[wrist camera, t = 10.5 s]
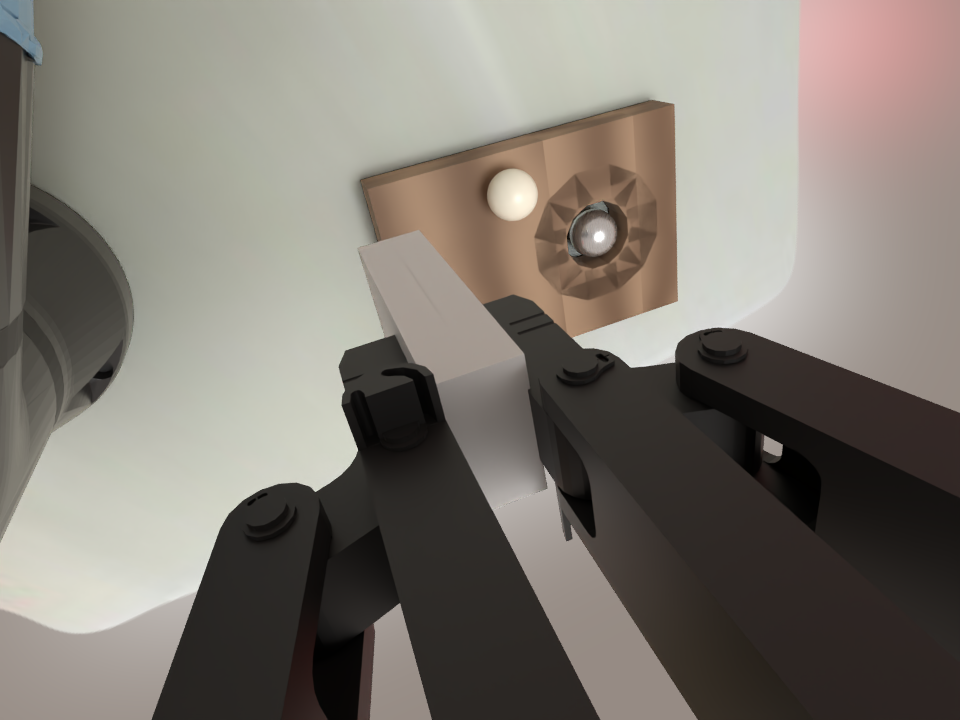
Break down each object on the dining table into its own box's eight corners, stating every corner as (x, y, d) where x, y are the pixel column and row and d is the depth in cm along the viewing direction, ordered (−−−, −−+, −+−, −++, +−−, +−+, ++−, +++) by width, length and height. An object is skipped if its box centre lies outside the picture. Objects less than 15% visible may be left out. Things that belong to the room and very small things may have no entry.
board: (415, 371, 44) (423, 388, 42) (360, 179, 37) (367, 189, 35) (658, 289, 48) (677, 301, 46) (652, 100, 41) (674, 104, 39)
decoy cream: (485, 219, 38) (501, 233, 36) (475, 171, 37) (493, 182, 34) (529, 206, 39) (549, 218, 36) (522, 158, 37) (542, 168, 35)
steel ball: (566, 264, 43) (611, 265, 41) (560, 220, 41) (607, 219, 39) (580, 244, 45) (624, 245, 43) (575, 202, 43) (620, 201, 42)
